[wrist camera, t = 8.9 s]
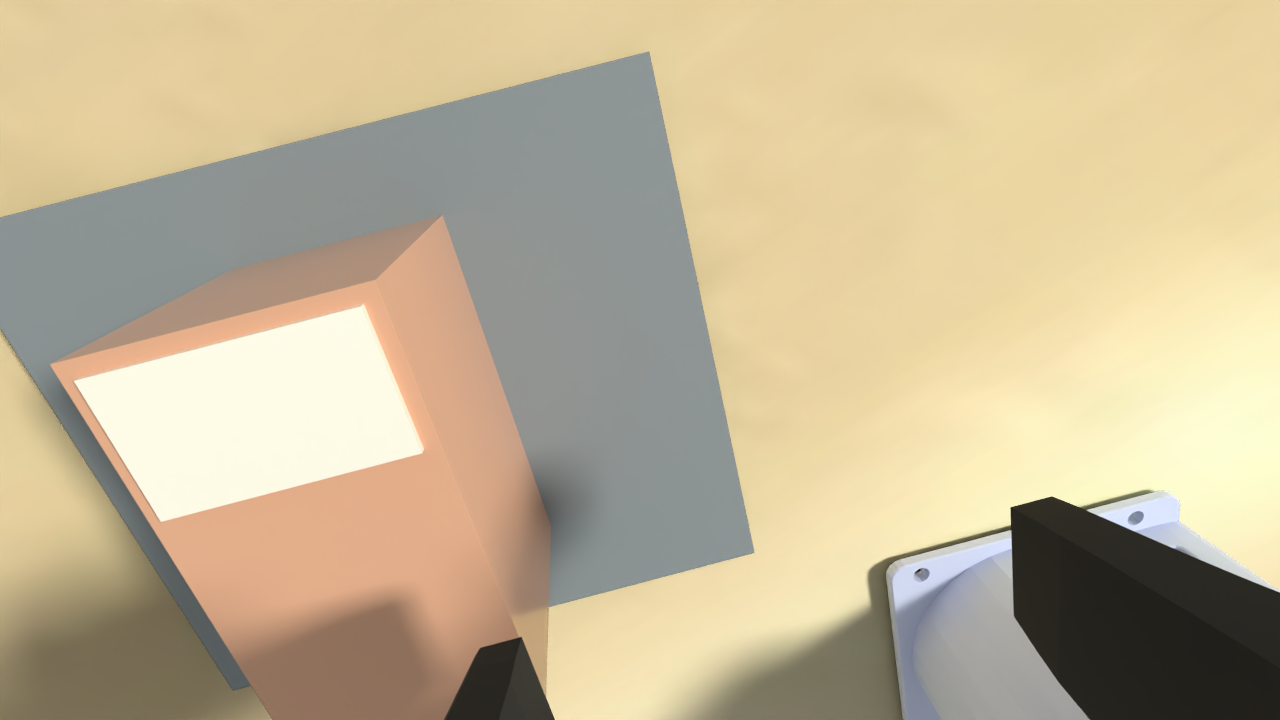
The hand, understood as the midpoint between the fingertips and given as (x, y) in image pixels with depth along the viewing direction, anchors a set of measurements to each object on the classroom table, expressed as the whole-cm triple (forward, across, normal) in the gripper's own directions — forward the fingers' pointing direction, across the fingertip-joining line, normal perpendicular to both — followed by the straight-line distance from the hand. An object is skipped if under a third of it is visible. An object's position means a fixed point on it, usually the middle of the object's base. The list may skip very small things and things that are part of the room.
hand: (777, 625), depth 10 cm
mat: (+9, +7, -1) cm, 12 cm away
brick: (+9, +7, -1) cm, 11 cm away
